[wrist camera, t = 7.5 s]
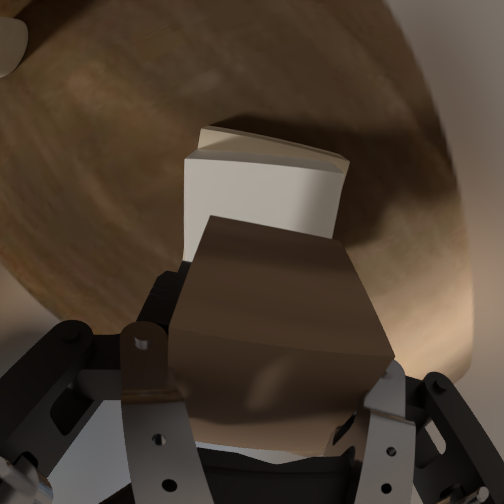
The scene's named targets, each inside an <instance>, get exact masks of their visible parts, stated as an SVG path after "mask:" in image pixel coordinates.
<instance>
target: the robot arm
mask: <svg viewBox="0 0 504 504" xmlns="http://www.w3.org/2000/svg"><path fill="white" fill-rule="evenodd" d="M191 263H192V262H190V261H185V260H183V261H182V263H181V266H180V268H179V270H178V273H176V272H171V271H165V272H164V273H163V274H161V275H160V276H158V277H157V279H156V281H155V283H154V285H153V288H152V289H151V291H150V294H149V295H148V297H147V299H146V301H145V304H144V306H143V308H142V310H141V312H140V314H139V316H138V318H137V320H136V322H134V323H131V324H129V325H127V326H126V327H125V328H124V329H123V330H122V332H121V333H120V334H115V335H93V332H92V329H91V328H90V327H89V326H88V325H87V324H86V323H84V322H82V321H78V320H67V321H63V322H61V323H59V324H57V325H56V326H54V327H53V328H52V329H51V330H50V331H49V332H48V333H47V334H46V335H45V336H44V337H43V338H41V339H40V340H39V341H38V342H37V343H36V344H35V345H34V346H33V347H32V348H31V349H30V350H29V351H28V352H27V353H26V354H25V355H24V356H23V357H21V359H19V360H18V362H16V363H15V364H14V365H13V366H12V367H11V368H10V369H9V370H8V371H7V372H6V373H5V374H4V375H3V376H2V377H1V378H0V504H51V503H52V500H53V489H52V487H51V484H50V482H49V481H48V479H47V477H48V476H49V474H50V473H51V472H52V470H53V469H54V467H55V466H56V465H57V463H58V462H59V460H60V459H61V458H62V456H63V455H64V453H65V452H66V451H67V449H68V448H69V446H70V445H71V444H72V442H73V441H74V440H75V438H76V437H77V435H78V434H79V433H80V431H81V430H82V429H83V427H84V426H85V425H86V423H87V422H88V421H89V419H90V418H91V416H92V415H93V414H94V412H95V411H96V409H97V408H98V407H99V406H100V404H101V403H102V402H103V400H121V408H122V419H123V429H124V438H125V445H126V453H127V460H128V466H129V472H130V478H131V483H129V484H128V485H127V486H125V487H124V488H122V489H120V490H119V491H118V492H116V493H114V494H113V495H111V496H110V497H108V498H107V499H105V500H103V501H102V502H100V503H99V504H410V502H411V494H412V484H414V486H415V488H416V490H417V492H418V494H419V496H420V498H421V500H422V502H423V504H504V462H503V460H502V458H501V456H500V455H499V453H498V452H497V450H496V448H495V447H494V445H493V443H492V442H491V440H490V439H489V437H488V435H487V434H486V432H485V431H484V429H483V428H482V426H481V424H480V423H479V422H478V420H477V418H476V417H475V415H474V414H473V412H472V411H471V409H470V408H469V406H468V405H467V404H466V402H465V401H464V399H463V398H462V396H461V395H460V393H459V392H458V391H457V389H456V388H455V387H454V385H453V383H452V382H451V381H450V380H449V379H448V378H447V377H446V376H445V375H443V374H441V373H439V372H430V373H428V374H427V375H426V376H425V377H424V379H423V380H419V379H415V378H412V377H409V376H406V375H405V372H404V370H403V368H402V366H401V365H400V364H399V363H398V362H397V361H396V360H394V359H393V361H392V362H391V364H390V365H389V367H388V368H387V369H386V371H385V372H384V374H383V375H382V376H381V378H380V379H379V381H378V382H377V383H376V385H375V386H374V387H373V389H372V390H367V389H366V390H365V391H364V393H363V394H362V395H361V397H360V398H359V399H358V405H357V409H356V411H355V412H354V413H353V414H352V415H351V417H350V418H349V419H348V420H347V421H346V423H345V424H344V425H343V426H342V427H336V428H335V429H334V430H333V432H332V433H331V434H330V437H329V441H328V445H327V448H326V451H325V453H324V455H323V457H310V458H306V459H302V460H298V461H293V462H288V463H283V464H271V463H268V462H264V461H261V460H258V459H254V458H251V457H248V456H245V455H242V454H239V453H234V452H226V451H218V450H211V449H205V448H199V447H198V448H196V444H195V441H194V437H193V433H192V430H191V426H190V422H189V418H188V414H187V410H186V406H185V402H184V398H183V395H182V392H181V391H179V390H178V387H177V383H176V378H175V373H174V369H173V367H169V366H168V334H169V325H170V322H171V319H172V316H173V313H174V310H175V307H176V305H177V302H178V299H179V296H180V293H181V291H182V288H183V285H184V282H185V280H186V277H187V274H188V271H189V269H190V266H191ZM432 420H433V422H434V424H435V425H436V427H437V428H438V430H439V432H440V434H441V435H442V437H443V439H444V440H445V443H446V450H445V452H444V453H443V454H442V455H441V454H440V453H439V451H438V450H437V448H436V446H435V444H434V443H433V441H432V440H431V437H430V436H429V434H428V432H427V431H426V429H425V426H427V424H428V423H430V422H431V421H432Z"/></svg>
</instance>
